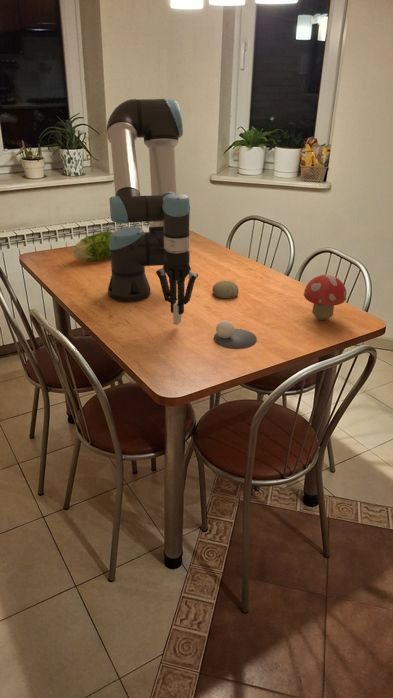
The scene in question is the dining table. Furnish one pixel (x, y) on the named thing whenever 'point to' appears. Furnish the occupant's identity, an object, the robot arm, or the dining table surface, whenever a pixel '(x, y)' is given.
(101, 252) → the lettuce
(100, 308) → the dining table surface
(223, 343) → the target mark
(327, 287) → the decorative mushroom
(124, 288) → the robot arm
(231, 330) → the ball
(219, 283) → the sea urchin shell
